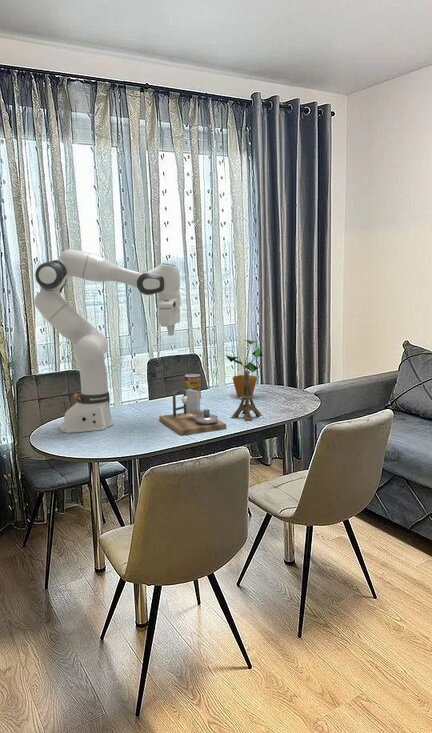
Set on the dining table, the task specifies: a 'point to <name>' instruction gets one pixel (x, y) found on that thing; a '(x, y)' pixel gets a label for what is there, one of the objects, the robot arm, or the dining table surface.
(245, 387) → the eiffel tower
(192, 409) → the crank handle
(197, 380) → the canned food
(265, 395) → the dining table surface
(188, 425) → the stand
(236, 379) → the potted plant
